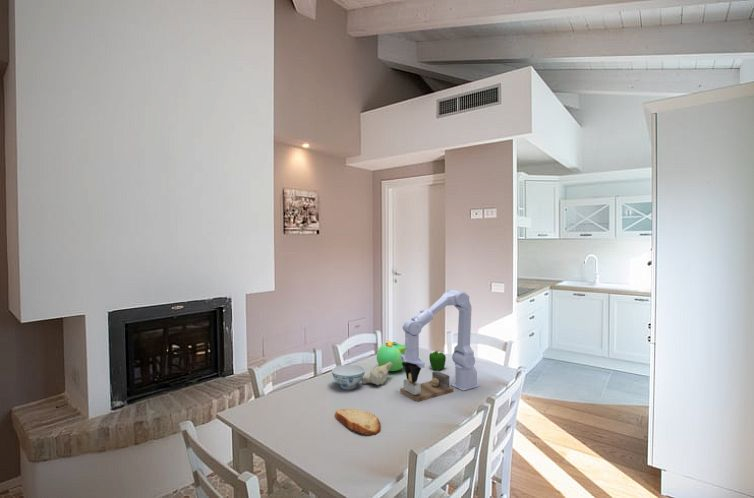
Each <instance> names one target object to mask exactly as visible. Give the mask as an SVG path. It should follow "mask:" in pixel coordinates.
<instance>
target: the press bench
mask: <svg viewBox="0 0 754 498" xmlns="http://www.w3.org/2000/svg"><path fill="white" fill-rule="evenodd" d="M431 374H432V376H431V377H432V379H431V380H430V381H426V382H422V383H420V384H421V394H418V395H413V394H412V393H410V392H408V391H406V390H404V387H403V388H400V389H399V392H400V393H401V394H403V395H404V396H406V397H408V398H410V399H412V400H413V401H415V402H417V403H418V402H421V401H422V402H423V401H425V400H429V399H432V398H437V397H439V396H443V395H447V394H451V393H454V387H453V386H452V387H451V386H450V375H449V374H446V373H444V372H441V371H440V370H433V371H432V372H431Z"/></svg>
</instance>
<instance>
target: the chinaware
mask: <svg viewBox="0 0 754 498" xmlns="http://www.w3.org/2000/svg"><path fill="white" fill-rule="evenodd" d="M365 372H366V369H365V367H364V366H362V365H359V364H340V365H337V366H334V367H333V368H331V373H332V377H333V380H334V381H335V382H336V383H337V384H338V385H339V386H340V388H342V389H344V390H353V389H355V388H357V385H359V383H361V382H362V381H361V380H362V378H364V377H365Z"/></svg>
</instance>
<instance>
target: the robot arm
mask: <svg viewBox="0 0 754 498" xmlns="http://www.w3.org/2000/svg"><path fill="white" fill-rule="evenodd" d="M447 306H454V307H455V308H456V309H457V310H458V321H457V323H458V326H457V327H458V328H457V345H455V346H454V349H453V353H452V355H451V356H452V357H451V359H452V361H453V363H454V366H455V367H454V368H455V370H454V371H455V375H454V377H455V378H454V381H455V382H454V383H451V386H452V387H453V388H454V387H455V388H457V389H459V390H461V391H462V392H463V391H467V390H471V389H475V388H478V387H479V385H478V371H477V369H476V366H475V365H476V364H475V363H476V358H475V353H474V350H473V349H472V347H471V330H472V329H471V327H472V304H471V301H470V296H469V295H468V293H466V292H465V291H461V290H460V291H459V290H456V289H452V288H451V289H448V290H446V292H444V293H443V294H442V295H441V297H439V299H437V300H436V301H435V302H434V303H433V304H432V305H431V306H430V307H429V308H423V309H420V310H419V312H417V314H416V315H414V316H412V317H411V319H407V320H405V321H404V323H403V325H402V329H403V331H404V340H405V341H404V342H405V343H404V345H405V355H404V354H403V355H400V359H401V360H403V361H404V362H403V363H402V365H403V369H404V372H405V376H406V379H408V373H409V372H411V377H412V382H418V379H419V374H420V372H421V370H422V369H424V368H425V366H426V365H425V362H423V361H422V360H421V358H420V356H419V355H420V354H419V352H420V349H419V345H420V344H419V341H420V339H419V338H420V337H419V336H420V335H419V334H420V333H421V332H422V330H423V328H424V327H425V326H426V325H428V324H429V323H430V322H431V321H432V320H433V319H434V315H436V314H437V313H438V312H440V311H441V310H443V309H445V308H446V307H447Z"/></svg>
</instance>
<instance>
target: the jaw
mask: <svg viewBox="0 0 754 498" xmlns="http://www.w3.org/2000/svg"><path fill="white" fill-rule="evenodd" d="M403 388H404V390H406V391H408V392H410V393H412V394H413V395H418V394H421V383H419V382H418V381H416V382H412V377H411V372H409V373H408V379H407V378H405V379H403Z"/></svg>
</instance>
